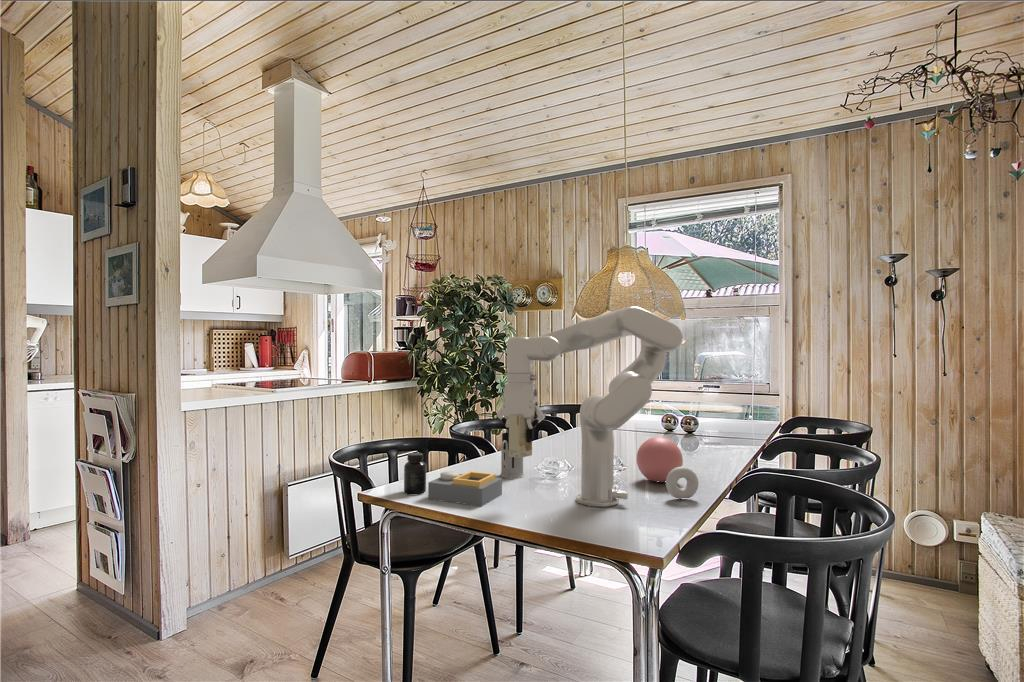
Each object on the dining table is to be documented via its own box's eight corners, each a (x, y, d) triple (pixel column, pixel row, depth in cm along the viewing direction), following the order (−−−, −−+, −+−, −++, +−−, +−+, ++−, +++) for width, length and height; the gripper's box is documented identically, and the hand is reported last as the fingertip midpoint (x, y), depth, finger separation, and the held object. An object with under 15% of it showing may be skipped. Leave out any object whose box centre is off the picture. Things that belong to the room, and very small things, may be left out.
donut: (695, 497, 167) (695, 465, 167) (700, 501, 163) (700, 467, 164) (664, 498, 166) (664, 465, 166) (668, 501, 163) (668, 467, 163)
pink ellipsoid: (678, 475, 197) (678, 432, 198) (685, 488, 178) (685, 441, 178) (635, 473, 200) (635, 431, 201) (637, 486, 181) (637, 440, 181)
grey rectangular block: (501, 494, 169) (502, 473, 169) (481, 506, 156) (482, 483, 156) (451, 488, 176) (451, 468, 176) (428, 499, 163) (428, 477, 163)
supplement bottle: (405, 489, 174) (405, 452, 174) (426, 489, 174) (426, 451, 175) (402, 495, 167) (403, 456, 167) (425, 494, 168) (425, 455, 168)
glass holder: (527, 474, 197) (528, 432, 197) (513, 483, 184) (514, 438, 184) (505, 472, 200) (505, 431, 200) (490, 480, 187) (490, 437, 187)
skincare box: (520, 458, 154) (519, 415, 154) (508, 457, 157) (507, 414, 157) (533, 455, 159) (532, 413, 160) (521, 453, 162) (520, 412, 162)
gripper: (551, 378, 159) (552, 441, 158) (498, 378, 165) (499, 437, 165) (543, 380, 152) (543, 445, 151) (488, 379, 158) (488, 441, 158)
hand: (520, 440), depth 158 cm, fingers closed on skincare box, 5 cm apart
